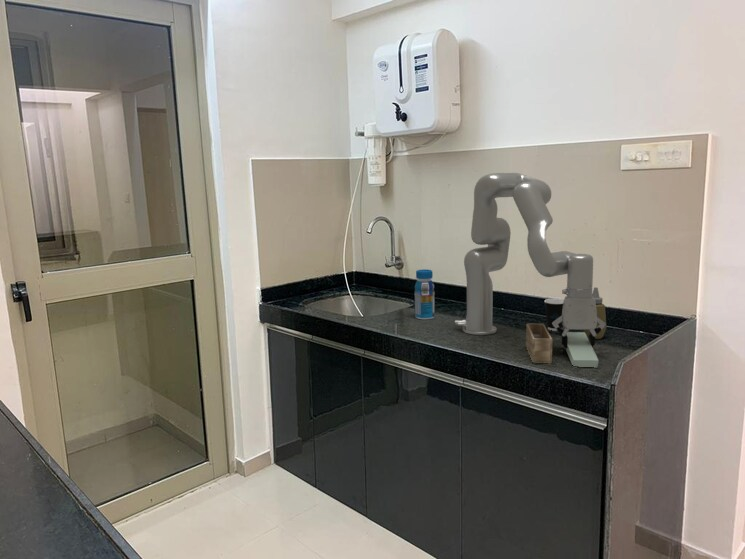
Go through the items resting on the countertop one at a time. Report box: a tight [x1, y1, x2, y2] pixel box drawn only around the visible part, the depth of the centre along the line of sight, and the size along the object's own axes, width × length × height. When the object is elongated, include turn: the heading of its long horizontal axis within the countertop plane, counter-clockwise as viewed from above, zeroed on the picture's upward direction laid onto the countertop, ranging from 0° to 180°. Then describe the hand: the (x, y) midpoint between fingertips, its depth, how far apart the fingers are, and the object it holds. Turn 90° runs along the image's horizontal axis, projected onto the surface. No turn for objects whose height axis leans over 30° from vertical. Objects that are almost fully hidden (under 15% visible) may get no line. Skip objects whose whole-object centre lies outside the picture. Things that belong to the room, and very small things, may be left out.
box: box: [525, 323, 553, 364], centre depth 183 cm, size 6×19×8 cm, turn 171°
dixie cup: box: [544, 298, 564, 332], centre depth 212 cm, size 8×8×11 cm
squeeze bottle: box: [582, 287, 607, 340], centre depth 200 cm, size 8×8×18 cm
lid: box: [565, 331, 600, 369], centre depth 179 cm, size 7×20×2 cm, turn 171°
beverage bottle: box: [414, 268, 436, 321], centre depth 235 cm, size 8×8×20 cm
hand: (578, 346), depth 181 cm, fingers closed on lid, 7 cm apart
